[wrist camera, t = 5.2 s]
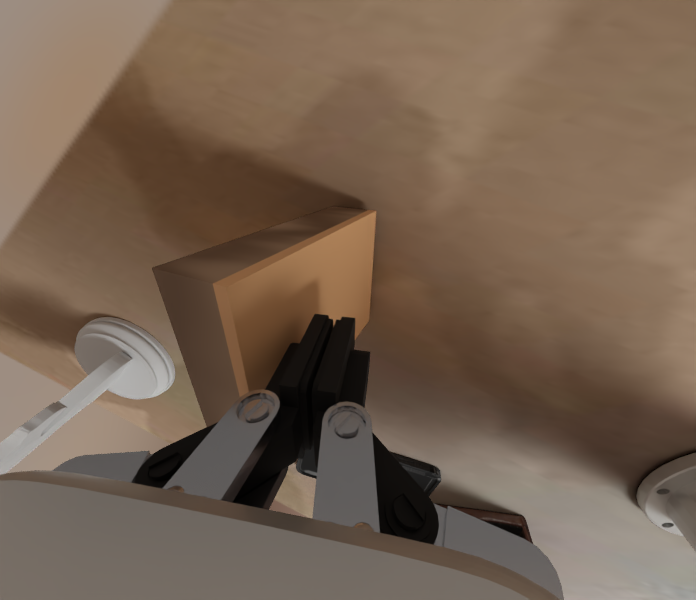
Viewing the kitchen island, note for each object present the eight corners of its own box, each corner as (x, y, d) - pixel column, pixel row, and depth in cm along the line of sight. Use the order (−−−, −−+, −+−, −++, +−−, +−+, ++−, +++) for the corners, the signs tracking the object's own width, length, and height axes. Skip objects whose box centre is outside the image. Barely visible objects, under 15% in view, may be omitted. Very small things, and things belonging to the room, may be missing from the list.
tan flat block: (376, 210, 17) (226, 287, 7) (369, 320, 21) (264, 465, 11) (332, 206, 18) (151, 267, 8) (333, 311, 22) (210, 436, 12)
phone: (417, 510, 32) (294, 472, 32) (416, 500, 33) (297, 462, 33) (445, 475, 28) (305, 432, 28) (443, 464, 29) (308, 423, 29)
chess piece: (192, 365, 28) (8, 556, 15) (152, 403, 32) (-19, 578, 19) (104, 297, 25) (-212, 455, 12) (73, 348, 29) (-185, 506, 16)
